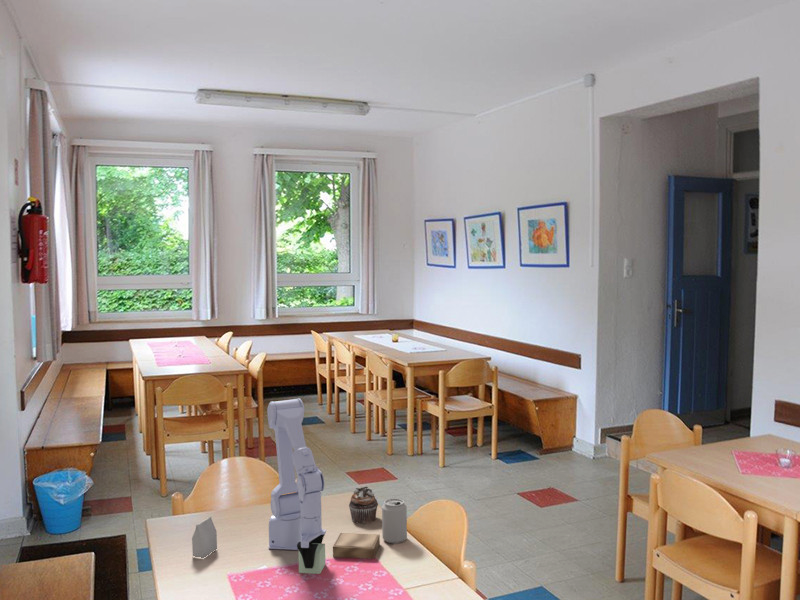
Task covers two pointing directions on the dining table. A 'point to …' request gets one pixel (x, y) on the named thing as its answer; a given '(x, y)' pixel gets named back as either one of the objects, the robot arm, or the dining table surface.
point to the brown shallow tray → (356, 545)
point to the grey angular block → (204, 538)
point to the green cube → (318, 561)
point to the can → (394, 521)
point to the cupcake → (363, 505)
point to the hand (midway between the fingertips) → (312, 562)
